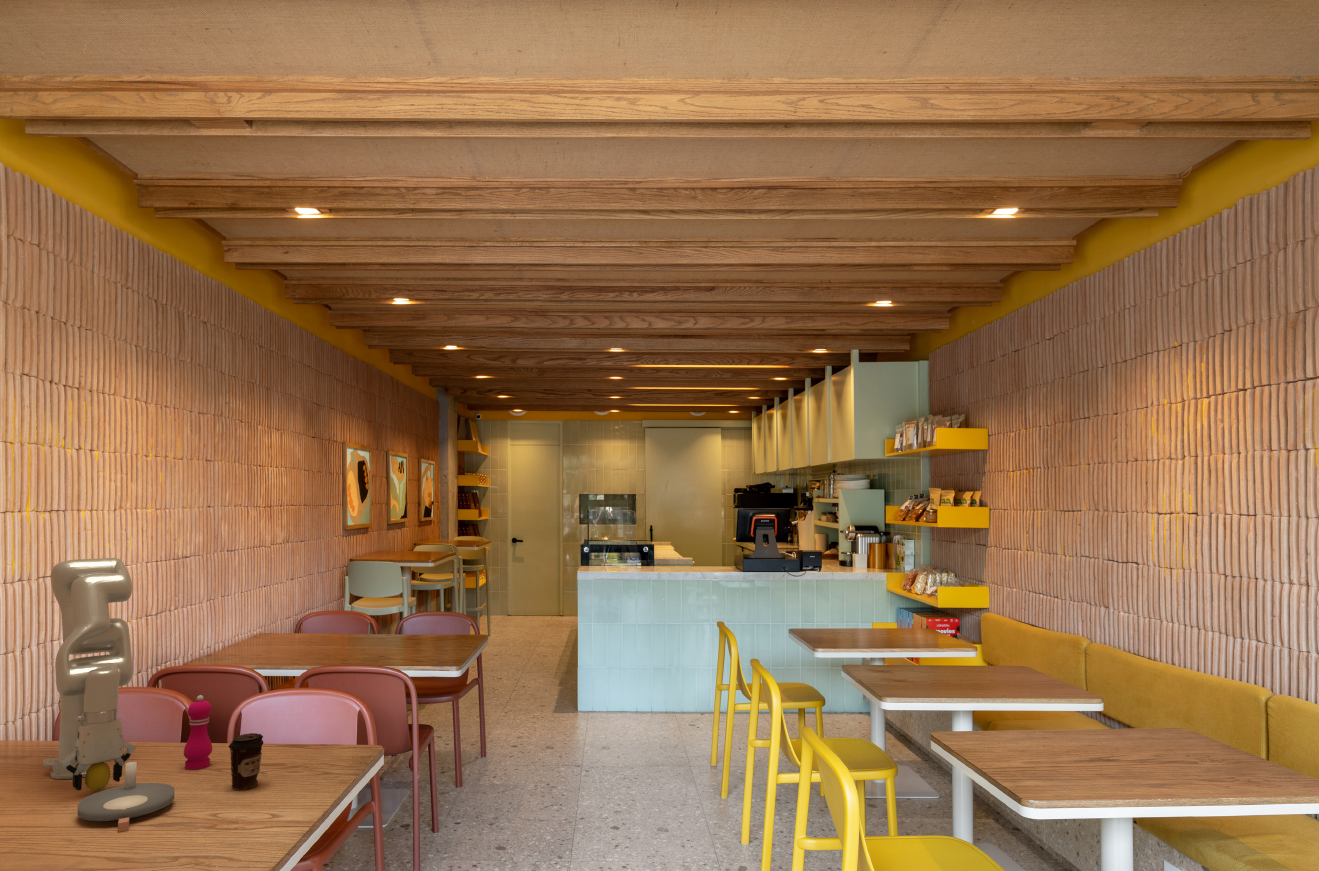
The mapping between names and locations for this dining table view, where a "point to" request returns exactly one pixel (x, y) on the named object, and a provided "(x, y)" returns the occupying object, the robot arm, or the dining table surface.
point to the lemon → (97, 776)
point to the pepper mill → (198, 736)
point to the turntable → (126, 799)
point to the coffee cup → (245, 760)
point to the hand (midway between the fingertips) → (97, 784)
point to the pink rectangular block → (123, 824)
